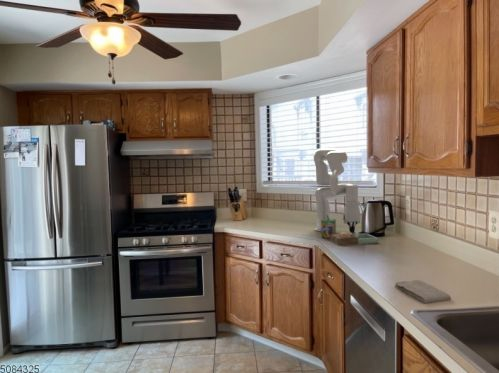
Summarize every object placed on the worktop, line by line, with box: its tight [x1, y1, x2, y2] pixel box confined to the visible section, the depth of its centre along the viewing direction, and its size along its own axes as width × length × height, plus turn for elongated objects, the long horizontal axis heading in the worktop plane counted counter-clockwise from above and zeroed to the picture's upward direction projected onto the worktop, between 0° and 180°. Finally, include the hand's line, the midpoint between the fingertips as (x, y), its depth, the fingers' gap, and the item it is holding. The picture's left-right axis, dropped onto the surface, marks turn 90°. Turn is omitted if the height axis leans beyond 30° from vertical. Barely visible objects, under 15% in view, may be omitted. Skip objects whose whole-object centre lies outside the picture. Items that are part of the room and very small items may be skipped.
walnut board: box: [329, 233, 359, 246], centre depth 216 cm, size 15×12×4 cm
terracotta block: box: [338, 231, 350, 238], centre depth 213 cm, size 4×4×2 cm
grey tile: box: [350, 231, 360, 238], centre depth 220 cm, size 4×4×2 cm
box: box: [357, 233, 379, 245], centre depth 218 cm, size 15×13×3 cm
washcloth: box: [394, 279, 452, 304], centre depth 131 cm, size 12×18×3 cm, turn 13°
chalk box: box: [321, 215, 337, 239], centre depth 233 cm, size 9×9×15 cm
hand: (352, 232), depth 220 cm, fingers closed
